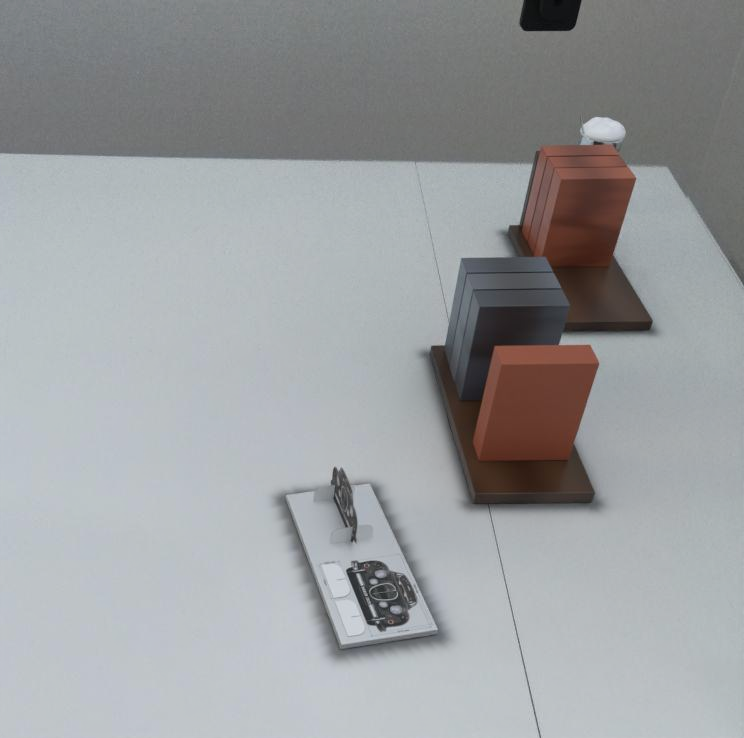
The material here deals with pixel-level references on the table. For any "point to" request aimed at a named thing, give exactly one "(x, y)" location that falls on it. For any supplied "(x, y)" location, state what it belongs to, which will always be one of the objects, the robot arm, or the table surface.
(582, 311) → the terracotta shelf
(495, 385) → the terracotta book
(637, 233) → the table surface
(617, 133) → the milkshake
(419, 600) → the car cutout
